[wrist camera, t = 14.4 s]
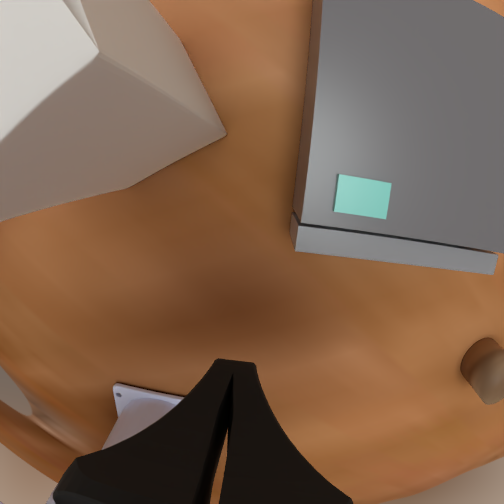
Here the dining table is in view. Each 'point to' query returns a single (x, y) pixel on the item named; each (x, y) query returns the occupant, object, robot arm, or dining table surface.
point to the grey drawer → (388, 248)
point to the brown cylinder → (485, 370)
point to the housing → (405, 121)
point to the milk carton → (92, 100)
